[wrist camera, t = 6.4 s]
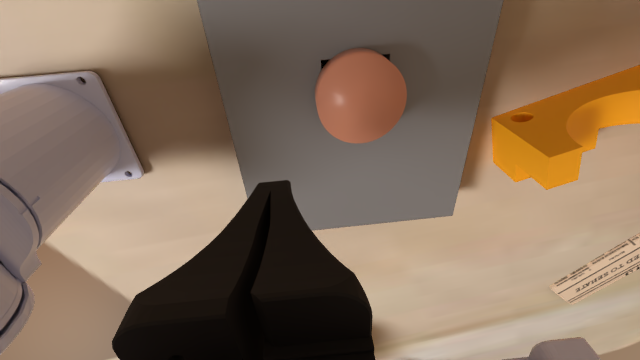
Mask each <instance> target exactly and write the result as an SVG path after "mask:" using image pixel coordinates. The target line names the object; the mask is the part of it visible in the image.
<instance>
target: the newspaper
mask: <svg viewBox="0 0 640 360" xmlns="http://www.w3.org/2000/svg"><path fill="white" fill-rule="evenodd" d="M639 268H640V233H639V234H637V235H635V236H633V237H632V238H630V239H628V240H627V241H625V242H623V243H622V244H620V245H618V246H616V247H615V248H613V249H611V250H610V251H608V252H606V253H605V254H603V255H601V256H599V257H598V258H596V259H594V260H593V261H591V262H589V263H588V264H586V265H584V266H582V267H581V268H579V269H577V270H576V271H574V272H572V273H571V274H569V275H567V276H565V277H564V278H562V279H560V280H559V281H557V282H555V283H554V284H552V285H550V286H549V287H550V288H551V289H552V290H553V291H554V292H555V293H556V294H557V295H559V296H560V297H561V298H563V299H564V300H565V301H566V302H568V303H570V304H571V305H573V304H574V303H576V302H578V301H580V300H582V299H584V298H586V297H587V296H589V295H591V294H593V293H595V292H597V291H598V290H600V289H602V288H604V287H606V286H608V285H610V284H611V283H613V282H615V281H617V280H619V279H621V278H623V277H624V276H626V275H628V274H630V273H632V272H634V271H636V270H637V269H639Z"/></svg>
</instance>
